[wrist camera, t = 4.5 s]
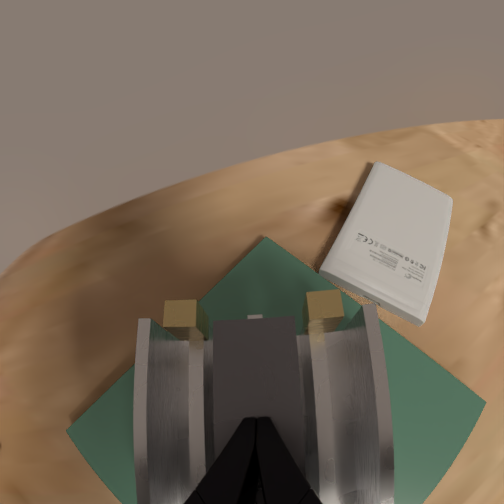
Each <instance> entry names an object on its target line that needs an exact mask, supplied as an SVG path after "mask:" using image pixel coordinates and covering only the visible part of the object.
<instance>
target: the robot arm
mask: <svg viewBox="0 0 504 504" xmlns="http://www.w3.org/2000/svg"><path fill="white" fill-rule="evenodd" d="M259 474H260V481H261V487H262V493H263V498H264V504H323V503H322V502H321V501H320V499H319V498H318V496H317V495H316V493H315V492H314V490H313V489H311V486H310V484H309V482H308V481H307V479H306V478H305V476H304V474H303V473H302V471H301V469H300V468H299V466H298V464H297V463H296V461H295V460H294V458H293V456H292V454H291V453H290V451H289V449H288V448H287V446H286V444H285V443H284V441H283V439H282V437H281V436H280V434H279V432H278V430H277V429H276V427H275V425H274V423H273V422H272V420H271V418H270V417H268V416H266V417H258V418H256V417H245V418H243V419H242V421H241V423H240V424H239V426H238V427H237V429H236V430H235V432H234V433H233V435H232V436H231V438H230V439H229V441H228V442H227V444H226V445H225V447H224V448H223V450H222V451H221V453H220V454H219V456H218V457H217V459H216V460H215V462H214V463H213V464H212V466H211V467H210V469H209V470H208V471H207V473H206V474H205V476H204V477H203V478H202V480H201V481H200V483H199V484H198V485H197V487H196V488H195V489H196V490H194V491H193V492H192V493H191V495H190V496H189V497H188V498H187V500H186V501H185V502H184V503H183V504H255V500H256V494H257V487H258V479H259Z"/></svg>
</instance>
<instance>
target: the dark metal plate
mask: <svg viewBox="0 0 504 504" xmlns="http://www.w3.org/2000/svg"><path fill="white" fill-rule="evenodd" d="M266 416H268V417H270V418H271V420H272V422H273V423H274V425H275V427H276V429H277V430H278V432H279V434H280V436H281V437H282V439H283V441H284V443H285V444H286V446H287V448H288V449H289V451H290V453H291V454H292V456H293V458H294V460H295V461H296V463H297V464H298V466H299V468H300V469H301V471H302V473H303V474H304V476H305V478H306V470H305V449H304V430H303V414H302V399H301V385H300V372H299V360H298V348H297V337H296V326H295V316H284V317H271V318H256V319H238V320H217V321H213V420H214V453H215V460H216V459H217V457H218V456H219V454H220V453H221V451H222V450H223V448H224V447H225V445H226V444H227V442H228V441H229V439H230V438H231V436H232V435H233V433H234V432H235V430H236V429H237V427H238V426H239V424H240V423H241V421H242V419H243V418H245V417H256V418H258V417H266ZM255 504H264V498H263V493H262V487H261V481H260V474H259V479H258V487H257V494H256V500H255Z"/></svg>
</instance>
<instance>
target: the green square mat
mask: <svg viewBox="0 0 504 504" xmlns="http://www.w3.org/2000/svg"><path fill="white" fill-rule="evenodd" d="M335 289H338V288H337V287H335V286H334V285H333V284H331V283H330V282H329V281H327V280H326V279H324V278H323V277H322V276H320V275H319V274H318V273H316V272H315V271H313V270H312V269H311V268H309V267H308V266H307V265H305V264H304V263H302V262H301V261H300V260H298V259H297V258H295V257H294V256H293V255H291V254H290V253H289V252H287V251H286V250H284V249H283V248H282V247H280V246H279V245H277V244H276V243H275V242H273V241H272V240H270V239H269V238H268V237H265V238H264V239H263V240H262V241H261V242H260V243H259V244H258V245H257V246H256V247H255V248H254V249H253V250H252V251H250V252H249V253H248V254H247V255H246V256H245V257H244V258H243V259H242V260H241V261H240V262H239V263H238V264H237V265H236V266H235V267H234V268H233V269H232V270H231V271H230V272H229V273H228V274H227V275H226V276H225V277H224V278H223V279H222V280H221V281H219V282H218V283H217V284H216V285H215V286H214V287H213V288H212V289H211V290H210V291H209V292H208V293H207V294H206V295H205V296H204V297H203V298H202V299H201V300H200V301H199V304H200V305H201V307H202V308H203V310H204V311H205V312H206V314H207V315H208V317H209V325H210V326H211V327H212V329H213V321H217V320H238V319H248V316H247V315H260V314H262V316H263V318H271V317H284V316H295V326H296V336H297V335H300V332H301V328H302V325H303V318H302V308H303V304H304V300H305V295H306V292H313V291H324V290H335ZM340 293H341V298H342V304H343V311H344V317H343V319H342V320H341V322H340V323H339V325H338V326H337V328H336V329H335V331H334V332H336V331H343V330H344V329H345V327H346V326H347V325H348V323H349V322H350V321H351V319H352V318H353V317H354V315H355V314H356V313H357V311H358V310H359V309H360V307H361V305H360V304H358V303H357V302H356V301H354V300H353V299H352V298H350V297H349V296H348V295H346V294H345V293H344V292H342V291H341V290H340ZM378 320H379V325H380V331H381V336H382V342H383V349H384V355H385V362H386V369H387V377H388V385H389V394H390V403H391V414H392V427H393V445H394V504H422V503H423V502H424V501H425V500H426V499H427V497H428V496H429V495H430V494H431V492H432V491H433V490H434V488H435V487H436V486H437V484H438V483H439V482H440V480H441V479H442V478H443V476H444V475H445V473H446V472H447V470H448V469H449V467H450V466H451V464H452V463H453V461H454V460H455V458H456V457H457V455H458V454H459V452H460V450H461V449H462V447H463V445H464V444H465V442H466V440H467V439H468V437H469V435H470V433H471V432H472V430H473V428H474V426H475V424H476V422H477V420H478V418H479V417H480V415H481V413H482V410H483V408H484V406H485V404H486V402H485V401H484V400H483V399H482V398H480V397H479V396H478V395H477V394H475V393H474V392H473V391H472V390H470V389H469V388H468V387H467V386H465V385H464V384H463V383H462V382H460V381H459V380H458V379H457V378H455V377H454V376H453V375H451V374H450V373H449V372H448V371H446V370H445V369H444V368H443V367H441V366H440V365H439V364H437V363H436V362H435V361H434V360H432V359H431V358H430V357H428V356H427V355H426V354H425V353H423V352H422V351H421V350H419V349H418V348H417V347H415V346H414V345H413V344H411V343H410V342H409V341H408V340H406V339H405V338H404V337H402V336H401V335H400V334H398V333H397V332H396V331H394V330H393V329H392V328H390V327H389V326H388V325H386V324H385V323H384V322H382V321H381V320H380V319H379V318H378ZM168 333H169V334H171V333H170V332H168ZM171 335H172V334H171ZM172 336H173V335H172ZM173 337H174V338H176V337H175V336H173ZM176 339H177V338H176ZM177 340H178V339H177ZM178 341H180V340H178ZM134 373H135V364H134V365H133V366H132V367H131V368H130V369H129V370H128V371H127V372H126V373H125V374H124V375H123V376H122V377H120V378H119V379H118V380H117V381H116V382H115V383H114V384H113V385H112V386H111V387H110V388H109V389H108V390H107V391H106V392H105V393H104V394H103V395H102V396H101V397H100V398H99V399H98V400H97V401H96V402H95V403H94V404H93V405H92V406H91V407H90V408H89V409H88V410H87V411H86V412H84V413H83V414H82V415H81V416H80V417H79V418H78V419H77V420H76V421H75V422H74V423H73V424H72V425H71V426H70V427H69V428H68V429H67V430H66V432H67V433H68V435H69V436H70V438H71V439H72V441H73V442H74V444H75V445H76V447H77V448H78V450H79V451H80V453H81V454H82V455H83V457H84V458H85V459H86V461H87V462H88V464H89V465H90V466H91V467H92V469H93V470H94V471H95V473H96V474H97V475H98V476H99V478H100V479H101V480H102V481H103V482H104V484H105V485H106V486H107V487H108V488H109V490H110V491H111V492H112V493H113V494H114V495H115V496H116V497H117V499H118V500H119V501H120V502H121V503H122V504H137V494H136V482H135V466H134V439H133V402H134Z"/></svg>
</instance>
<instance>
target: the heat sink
mask: <svg viewBox="0 0 504 504" xmlns="http://www.w3.org/2000/svg"><path fill="white" fill-rule="evenodd" d="M247 316H248V319H256V318H263V316H262V314H260V315H247ZM343 317H344V311H343V304H342V298H341V293H340V289H335V290H324V291H313V292H306V295H305V300H304V304H303V308H302V318H303V325H302V328H301V332H300V335H297V336H296V337H297V348H298V360H299V372H300V385H301V399H302V414H303V430H304V449H305V470H306V479H307V481H308V482H309V484H310V486H311V489H313V490H314V492H315V493H316V495H317V496H318V498H319V499H320V501H321V502H322V503H323V504H394V445H393V427H392V414H391V403H390V394H389V385H388V377H387V369H386V362H385V355H384V349H383V342H382V336H381V331H380V325H379V320H378V314H377V309H376V304H375V303H373V304H365V305H362V306H361V307H360V309H359V310H358V311H357V313H356V314H355V315H354V317H353V318H352V319H351V321H350V322H349V323H348V325H347V326H346V327H345V329H344V330H343V331H336V332H334V331H335V329H336V328H337V326H338V325H339V323H340V322H341V320H342V319H343ZM163 328H165V329H166V330H167V331H168V332H170V333H171V334H172V335H173V336H175V337H176V338H177V339H178V340H180V341H178V340H177V339H176V338H174V337H173V336H172V335H171V334H169V333H168V332H167V331H166V330H164V329H163ZM163 328H162V327H161V326H160V325H158V324H157V323H156V322H155V321H153V320H152V319H151V318H139V320H138V331H137V343H136V356H135V373H134V402H133V439H134V466H135V482H136V494H137V504H183V503H184V502H185V501H186V500H187V498H188V497H189V496H190V495H191V493H192V492H193V491H194V490H196V489H195V488H196V487H197V485H198V484H199V483H200V481H201V480H202V478H203V477H204V476H205V474H206V473H207V471H208V470H209V469H210V467H211V466H212V464H213V463H214V462H215V453H214V420H213V329H212V327H211V326H210V325H209V317H208V315H207V314H206V312H205V311H204V310H203V308H202V307H201V305H200V304H199V302H198V301H197V299H191V300H165V303H164V316H163Z"/></svg>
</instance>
